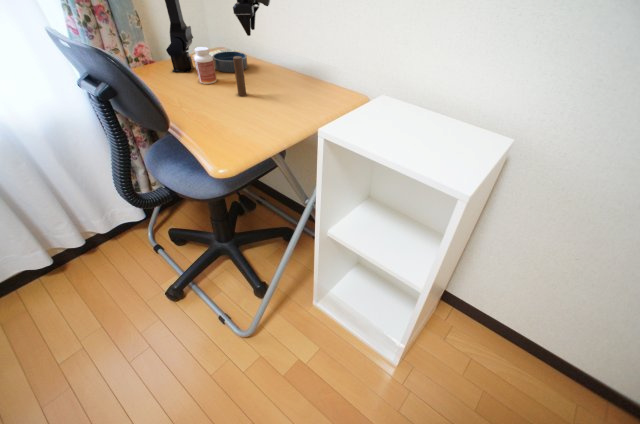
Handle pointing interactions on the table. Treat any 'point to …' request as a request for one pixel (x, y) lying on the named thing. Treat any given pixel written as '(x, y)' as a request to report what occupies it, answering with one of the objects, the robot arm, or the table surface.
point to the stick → (239, 75)
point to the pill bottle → (204, 65)
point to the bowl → (227, 61)
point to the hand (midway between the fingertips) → (251, 32)
